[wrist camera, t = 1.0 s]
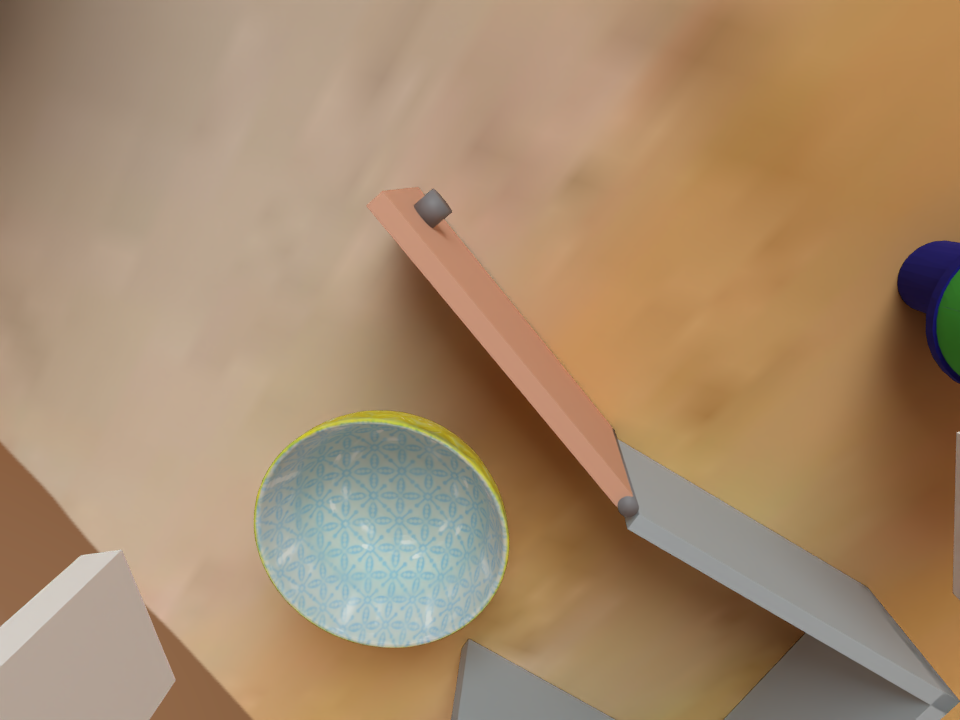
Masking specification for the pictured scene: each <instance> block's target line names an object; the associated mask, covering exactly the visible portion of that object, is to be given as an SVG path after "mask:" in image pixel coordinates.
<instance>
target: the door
mask: <svg viewBox="0 0 960 720" xmlns="http://www.w3.org/2000/svg"><path fill="white" fill-rule="evenodd" d="M366 206H367V207H368V209H369V210H370V211H371V212H372V213H373V215H374V216H375V217H376V218H377V219H378V221H379V222H380V223H381V224H382V225H383V227H384V228H385V229H386V230H387V231H388V233H389V234H390V235H391V236H392V237H393V239H394V240H395V241H396V242H397V243H398V245H399V246H400V247H401V248H402V249H403V251H404V252H405V253H406V254H407V255H408V257H409V258H410V259H411V260H412V261H413V263H414V264H415V265H416V266H417V267H418V269H419V270H420V271H421V272H422V273H423V275H424V276H425V277H426V278H427V280H428V281H429V282H430V283H431V284H432V286H433V287H434V288H435V289H436V290H437V292H438V293H439V294H440V295H441V296H442V298H443V299H444V300H445V301H446V302H447V304H448V305H449V306H450V307H451V308H452V310H453V311H454V312H455V313H456V314H457V316H458V317H459V318H460V319H461V320H462V322H463V323H464V324H465V325H466V326H467V328H468V329H469V330H470V331H471V332H472V334H473V335H474V336H475V337H476V338H477V340H478V341H479V342H480V343H481V345H482V346H483V347H484V348H485V349H486V351H487V352H488V353H489V354H490V355H491V357H492V358H493V359H494V360H495V361H496V363H497V364H498V365H499V366H500V367H501V369H502V370H503V371H504V372H505V373H506V375H507V376H508V377H509V378H510V379H511V381H512V382H513V383H514V384H515V385H516V387H517V388H518V389H519V390H520V391H521V393H522V394H523V395H524V396H525V397H526V399H527V400H528V401H529V402H530V403H531V405H532V406H533V407H534V408H535V409H536V411H537V412H538V413H539V414H540V416H541V417H542V418H543V419H544V420H545V422H546V423H547V424H548V425H549V426H550V428H551V429H552V430H553V431H554V432H555V434H556V435H557V436H558V437H559V438H560V440H561V441H562V442H563V443H564V444H565V446H566V447H567V448H568V449H569V450H570V452H571V453H572V454H573V455H574V456H575V458H576V459H577V460H578V461H579V462H580V464H581V465H582V466H583V467H584V468H585V470H586V471H587V472H588V473H589V474H590V476H591V477H592V478H593V479H594V480H595V482H596V483H597V484H598V485H599V487H600V488H601V489H602V490H603V491H604V493H605V494H606V495H607V496H608V497H609V499H610V500H611V501H612V502H613V503H614V505H615V506H616V507H617V506H618V510H619V512H620V514H622V515H623V516H626V517H631V516H634V515H635V514H637V512H638V510H639V505H638V502H637V499H636V495H635V492H634V489H633V486H632V483H631V480H630V477H629V473H628V470H627V467H626V464H625V461H624V458H623V455H622V451H621V448H620V445H619V442H618V439H617V436H616V433H615V430H614V429H613V428H612V426H611V425H610V424H609V423H608V421H607V420H606V419H605V418H604V416H603V415H602V414H601V413H600V411H599V410H598V409H597V408H596V406H595V405H594V404H593V403H592V402H591V400H590V399H589V398H588V397H587V395H586V394H585V393H584V392H583V390H582V389H581V388H580V387H579V385H578V384H577V383H576V382H575V380H574V379H573V378H572V377H571V376H570V374H569V373H568V372H567V371H566V369H565V368H564V367H563V366H562V364H561V363H560V362H559V361H558V359H557V358H556V357H555V356H554V355H553V353H552V352H551V351H550V350H549V348H548V347H547V346H546V345H545V343H544V342H543V341H542V340H541V338H540V337H539V336H538V335H537V333H536V332H535V331H534V330H533V329H532V327H531V326H530V325H529V324H528V322H527V321H526V320H525V319H524V317H523V316H522V315H521V314H520V312H519V311H518V310H517V309H516V307H515V306H514V305H513V304H512V303H511V301H510V300H509V299H508V298H507V296H506V295H505V294H504V293H503V291H502V290H501V289H500V288H499V286H498V285H497V284H496V283H495V282H494V280H493V279H492V278H491V277H490V275H489V274H488V273H487V272H486V270H485V269H484V268H483V267H482V265H481V264H480V263H479V262H478V260H477V259H476V258H475V257H474V256H473V254H472V253H471V252H470V251H469V249H468V248H467V247H466V246H465V244H464V243H463V242H462V241H461V239H460V238H459V237H458V236H457V235H456V233H455V232H454V231H453V230H452V228H451V227H450V226H449V225H448V223H447V222H446V221H445V220H444V219H445V218H446V217H447V216H448V215H449V214H450V213H452V210H451V209H450V207H449V206H448V204H447V203H446V201H445V200H444V199H443V198H442V197H441V195H440V194H439V193H438V192H437V191H436V190H434V189H432V190H431V191H429V192H428V193H427V194H426V195H424V194H423V192H422V191H421V190H420V189H419V188H418V187H415V188H406V189H397V190H387V191H382V192H381V193H380V194H379V195H378V196H376V197H375V198H374V199H373V200H372V201H371V202H370V203H369V204H367V205H366Z"/></svg>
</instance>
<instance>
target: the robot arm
mask: <svg viewBox="0 0 960 720" xmlns="http://www.w3.org/2000/svg"><path fill="white" fill-rule="evenodd" d="M953 594H954V595H955V596H956V597H957V598H958V599H959V600H960V432H956V475H955V519H954V563H953ZM174 682H175V677H174V675H173V673H172V670H171V668H170V665H169V663H168V660H167V658H166V655H165V653H164V651H163V648H162V646H161V643H160V641H159V638H158V636H157V634H156V631H155V629H154V626H153V624H152V621H151V619H150V617H149V614H148V612H147V609H146V607H145V604H144V602H143V599H142V597H141V595H140V592H139V590H138V587H137V585H136V582H135V580H134V578H133V575H132V573H131V570H130V568H129V565H128V563H127V561H126V558H125V556H124V553H123V551H122V550H116V551H109V552H102V553H95V554H87V555H81V556H80V557H79V558H77V559H76V560H75V561H74V562H73V563H72V564H71V565H70V566H68V567H67V568H66V569H65V570H64V571H63V572H62V573H61V574H59V575H58V576H57V577H56V578H55V579H54V580H53V581H51V582H50V583H49V584H48V585H47V586H46V587H45V588H44V589H42V590H41V591H40V592H39V593H38V594H37V595H36V596H35V597H33V598H32V599H31V600H30V601H29V602H28V603H27V604H26V605H24V606H23V607H22V608H21V609H20V610H19V611H18V612H16V613H15V614H14V615H13V616H12V617H11V618H10V619H9V620H8V621H6V622H5V623H4V624H3V625H2V626H1V627H0V720H149V719H150V718H151V716H152V715H153V713H154V712H155V710H156V709H157V707H158V706H159V704H160V703H161V701H162V700H163V698H164V697H165V695H166V694H167V693H168V691H169V690H170V688H171V687H172V685H173V683H174Z"/></svg>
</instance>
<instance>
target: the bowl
mask: <svg viewBox="0 0 960 720" xmlns="http://www.w3.org/2000/svg"><path fill="white" fill-rule="evenodd" d="M254 533H255V541H256V545H257V548H258V552H259V556H260V559H261V561H262V563H263V566H264V568H265V570H266V572H267V574H268V576H269V578H270V580H271V581H272V583H273V584H274V586H275V587H276V589H277V590H278V591H279V593H280V594H281V595H282V597H283V598H284V599H285V600H286V601H287V602H288V604H289V605H291V606H292V607H293V608H294V609H295V610H296V611H297V612H298V613H299V614H300V615H301V616H303V617H304V618H305V619H307V620H308V621H309V622H311V623H312V624H314V625H316V626H317V627H319V628H320V629H322V630H324V631H326V632H328V633H330V634H332V635H335V636H337V637H340V638H342V639H345V640H348V641H351V642H353V643H359V644H362V645H367V646H374V647H384V648H405V647H413V646H418V645H423V644H427V643H431V642H434V641H437V640H440V639H442V638H445V637H447V636H449V635H451V634H453V633H455V632H457V631H458V630H460V629H462V628H463V627H465V626H466V625H467V624H469V623H470V622H471V621H472V620H474V619H475V618H476V617H477V616H478V615H479V614H480V613H481V612H482V611H483V610H484V609H485V607H486V606H487V605H488V604H489V603H490V601H491V599H492V598H493V596H494V595H495V593H496V591H497V590H498V588H499V586H500V584H501V581H502V579H503V577H504V573H505V570H506V566H507V562H508V555H509V531H508V524H507V516H506V511H505V508H504V504H503V501H502V498H501V496H500V493H499V490H498V488H497V485H496V484H495V482H494V480H493V478H492V476H491V474H490V473H489V471H488V470H487V468H486V467H485V465H484V463H483V462H482V460H481V459H480V458H479V456H478V455H477V454H476V453H475V452H474V451H473V450H472V449H471V448H470V447H469V446H468V445H467V444H466V443H465V442H464V441H463V440H462V439H460V438H459V437H458V436H457V435H455V434H454V433H452V432H451V431H449V430H447V429H446V428H444V427H443V426H441V425H439V424H437V423H434V422H432V421H430V420H428V419H425V418H422V417H419V416H416V415H412V414H409V413H404V412H396V411H362V412H356V413H352V414H348V415H344V416H340V417H337V418H334V419H331V420H328V421H326V422H324V423H322V424H320V425H318V426H316V427H314V428H312V429H311V430H309V431H307V432H306V433H304V434H303V435H301V436H300V437H298V438H297V439H296V440H294V441H293V442H292V443H291V444H289V445H288V446H287V447H286V448H285V449H284V450H283V451H282V452H281V453H280V454H279V455H278V456H277V458H276V459H275V460H274V462H273V463H272V465H271V466H270V467H269V469H268V471H267V473H266V475H265V476H264V478H263V480H262V483H261V486H260V488H259V491H258V495H257V498H256V504H255V510H254Z"/></svg>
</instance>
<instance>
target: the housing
mask: <svg viewBox="0 0 960 720" xmlns="http://www.w3.org/2000/svg"><path fill="white" fill-rule="evenodd" d="M618 442H619V445H620V448H621V451H622V455H623V458H624V461H625V464H626V467H627V470H628V473H629V477H630V480H631V483H632V486H633V489H634V492H635V495H636V499H637V502H638V505H639V510H638V512H637V514H635V515H634V516H631V517H626V516H624V517H625V521H626V525H627V529H628V530H630V531H632V532H634V533H635V534H637V535H639V536H640V537H642V538H644V539H646V540H647V541H649V542H651V543H652V544H654V545H656V546H658V547H659V548H661V549H663V550H665V551H666V552H668V553H670V554H671V555H673V556H675V557H677V558H678V559H680V560H682V561H683V562H685V563H687V564H689V565H690V566H692V567H694V568H696V569H697V570H699V571H701V572H702V573H704V574H706V575H708V576H709V577H711V578H713V579H714V580H716V581H718V582H720V583H721V584H723V585H725V586H726V587H728V588H730V589H732V590H733V591H735V592H737V593H739V594H740V595H742V596H744V597H745V598H747V599H749V600H751V601H752V602H754V603H756V604H757V605H759V606H761V607H763V608H764V609H766V610H768V611H770V612H771V613H773V614H775V615H776V616H778V617H780V618H782V619H783V620H785V621H787V622H788V623H790V624H792V625H794V626H795V627H797V628H799V629H800V630H802V631H804V632H806V633H805V634H804V635H803V636H802V637H801V638H800V639H799V641H798V642H797V643H796V644H795V645H794V646H793V647H792V648H791V649H790V650H789V651H788V652H787V653H786V654H785V655H784V656H783V657H782V658H781V660H780V661H779V662H778V663H777V664H776V665H775V666H774V667H773V668H772V669H771V670H770V671H769V672H768V673H767V674H766V675H765V676H764V678H763V679H762V680H761V681H760V682H759V683H758V684H757V685H756V686H755V687H754V688H753V689H752V690H751V691H750V692H749V693H748V694H747V695H746V697H745V698H744V699H743V700H742V701H741V702H740V703H739V704H738V705H737V706H736V707H735V708H734V709H733V710H732V711H731V712H730V713H729V715H728V716H727V717H726V718H725V719H724V720H940V719H941V718H943V717H944V716H945V715H946V714H947V713H948V712H949V711H950V710H951V709H952V708H953V707H955V706H956V705H957V704H958V703H959V702H960V701H959V700H958V698H957V697H956V696H955V695H954V693H953V692H952V691H951V690H950V688H949V687H948V686H947V685H946V683H945V682H944V681H943V680H942V679H941V677H940V676H939V675H938V674H937V672H936V671H935V670H934V669H933V667H932V666H931V665H930V664H929V663H928V661H927V660H926V659H925V658H924V656H923V655H922V654H921V653H920V651H919V650H918V649H917V648H916V646H915V645H914V644H913V643H912V642H911V640H910V639H909V638H908V637H907V635H906V634H905V633H904V632H903V630H902V629H901V628H900V627H899V625H898V624H897V623H896V622H895V621H894V619H893V618H892V617H891V616H890V614H889V613H888V612H887V611H886V609H885V608H884V607H883V606H882V604H881V603H880V602H879V601H878V600H877V598H876V597H875V596H874V595H873V593H872V592H871V591H870V590H869V588H868V587H866V586H864V585H863V584H861V583H859V582H858V581H856V580H854V579H853V578H851V577H849V576H847V575H846V574H844V573H842V572H841V571H839V570H837V569H836V568H834V567H832V566H831V565H829V564H827V563H826V562H824V561H822V560H820V559H819V558H817V557H815V556H814V555H812V554H810V553H809V552H807V551H805V550H804V549H802V548H800V547H799V546H797V545H795V544H794V543H792V542H790V541H788V540H787V539H785V538H783V537H782V536H780V535H778V534H777V533H775V532H773V531H772V530H770V529H768V528H767V527H765V526H763V525H761V524H760V523H758V522H756V521H755V520H753V519H751V518H750V517H748V516H746V515H745V514H743V513H741V512H740V511H738V510H736V509H735V508H733V507H731V506H729V505H728V504H726V503H724V502H723V501H721V500H719V499H718V498H716V497H714V496H713V495H711V494H709V493H708V492H706V491H704V490H703V489H701V488H699V487H697V486H696V485H694V484H692V483H691V482H689V481H687V480H686V479H684V478H682V477H681V476H679V475H677V474H676V473H674V472H672V471H670V470H669V469H667V468H665V467H664V466H662V465H660V464H659V463H657V462H655V461H654V460H652V459H650V458H649V457H647V456H645V455H644V454H642V453H640V452H638V451H637V450H635V449H633V448H632V447H630V446H628V445H627V444H625V443H623V442H622V441H620V440H618ZM451 720H615V719H613V718H611V717H610V716H608V715H606V714H604V713H602V712H601V711H599V710H597V709H595V708H593V707H592V706H590V705H588V704H586V703H584V702H582V701H581V700H579V699H577V698H575V697H573V696H572V695H570V694H568V693H566V692H564V691H563V690H561V689H559V688H557V687H555V686H554V685H552V684H550V683H548V682H546V681H544V680H543V679H541V678H539V677H537V676H535V675H534V674H532V673H530V672H528V671H526V670H525V669H523V668H521V667H519V666H517V665H515V664H514V663H512V662H510V661H508V660H506V659H505V658H503V657H501V656H499V655H497V654H496V653H494V652H492V651H490V650H488V649H487V648H485V647H483V646H481V645H479V644H477V643H476V642H474V641H472V640H470V639H468V641H467V642H466V643H465V645H464V646H463V647H462V651H461V658H460V664H459V671H458V677H457V684H456V691H455V697H454V704H453V711H452V717H451Z"/></svg>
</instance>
